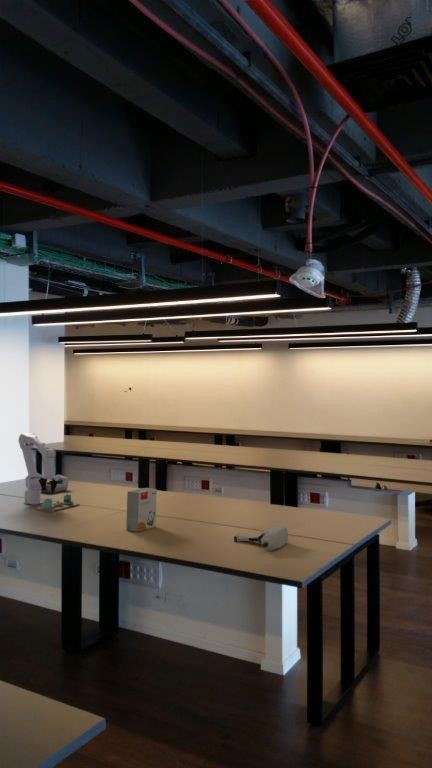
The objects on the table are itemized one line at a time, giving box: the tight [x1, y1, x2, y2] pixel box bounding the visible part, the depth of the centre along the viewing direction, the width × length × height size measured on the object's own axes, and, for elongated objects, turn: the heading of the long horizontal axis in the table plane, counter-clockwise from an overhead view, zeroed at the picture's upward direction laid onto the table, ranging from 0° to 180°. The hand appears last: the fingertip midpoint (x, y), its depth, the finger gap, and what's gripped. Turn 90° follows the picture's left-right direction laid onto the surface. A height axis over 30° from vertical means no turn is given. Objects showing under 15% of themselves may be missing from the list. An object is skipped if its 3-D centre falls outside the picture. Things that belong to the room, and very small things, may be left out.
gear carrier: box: [35, 493, 80, 513], centre depth 345 cm, size 23×13×7 cm, turn 150°
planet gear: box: [40, 498, 55, 510], centre depth 339 cm, size 8×8×5 cm
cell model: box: [41, 474, 70, 494], centre depth 398 cm, size 13×11×20 cm
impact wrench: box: [233, 526, 289, 552], centre depth 268 cm, size 8×23×25 cm
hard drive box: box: [125, 487, 157, 533], centre depth 298 cm, size 16×8×20 cm, turn 148°
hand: (48, 491), depth 347 cm, fingers open, 7 cm apart
